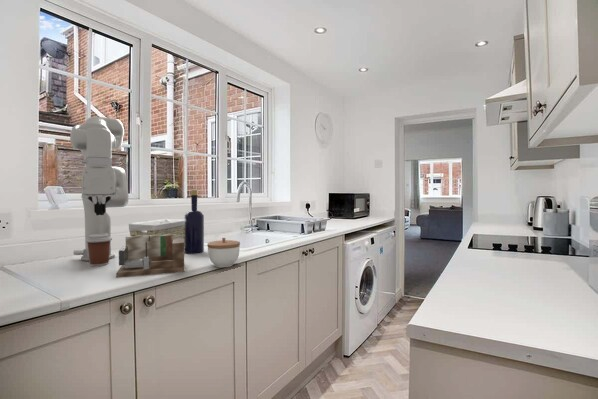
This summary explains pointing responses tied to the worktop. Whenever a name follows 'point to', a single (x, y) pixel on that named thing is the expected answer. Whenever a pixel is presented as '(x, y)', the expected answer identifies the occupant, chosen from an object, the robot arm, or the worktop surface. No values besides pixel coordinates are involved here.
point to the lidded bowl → (223, 252)
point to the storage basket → (158, 228)
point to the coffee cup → (98, 249)
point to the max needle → (146, 260)
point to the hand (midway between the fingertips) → (100, 214)
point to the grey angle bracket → (129, 262)
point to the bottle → (194, 228)
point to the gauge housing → (155, 254)
